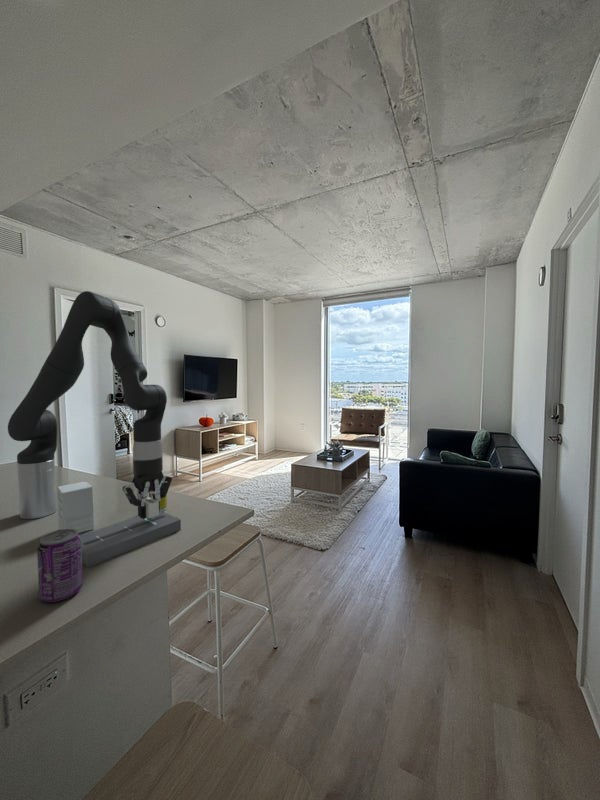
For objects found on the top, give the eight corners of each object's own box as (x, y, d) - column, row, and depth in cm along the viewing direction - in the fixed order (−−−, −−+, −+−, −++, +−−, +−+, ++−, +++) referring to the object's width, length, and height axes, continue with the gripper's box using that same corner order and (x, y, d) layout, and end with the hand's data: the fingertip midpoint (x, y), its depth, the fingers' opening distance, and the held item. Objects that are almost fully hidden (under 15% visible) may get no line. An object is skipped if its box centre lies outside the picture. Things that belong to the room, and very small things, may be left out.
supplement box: (88, 521, 100) (86, 480, 99) (94, 529, 94) (93, 486, 94) (58, 529, 95) (56, 486, 94) (63, 538, 89) (61, 492, 89)
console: (68, 551, 83) (67, 539, 82) (158, 519, 102) (157, 509, 102) (87, 567, 75) (87, 554, 75) (180, 529, 95) (180, 519, 94)
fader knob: (139, 519, 93) (139, 499, 93) (149, 515, 96) (149, 496, 96) (148, 523, 90) (148, 503, 90) (159, 520, 93) (158, 500, 93)
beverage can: (54, 583, 69) (52, 528, 69) (89, 582, 70) (88, 527, 69) (30, 606, 62) (27, 545, 62) (69, 604, 63) (67, 543, 62)
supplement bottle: (160, 513, 106) (159, 484, 105) (145, 512, 107) (144, 482, 106) (170, 507, 111) (169, 479, 111) (155, 505, 112) (155, 478, 112)
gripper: (163, 449, 100) (164, 505, 101) (115, 458, 89) (117, 520, 90) (178, 453, 95) (178, 511, 96) (129, 462, 84) (130, 528, 85)
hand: (149, 515), depth 93 cm, fingers closed on fader knob, 3 cm apart
